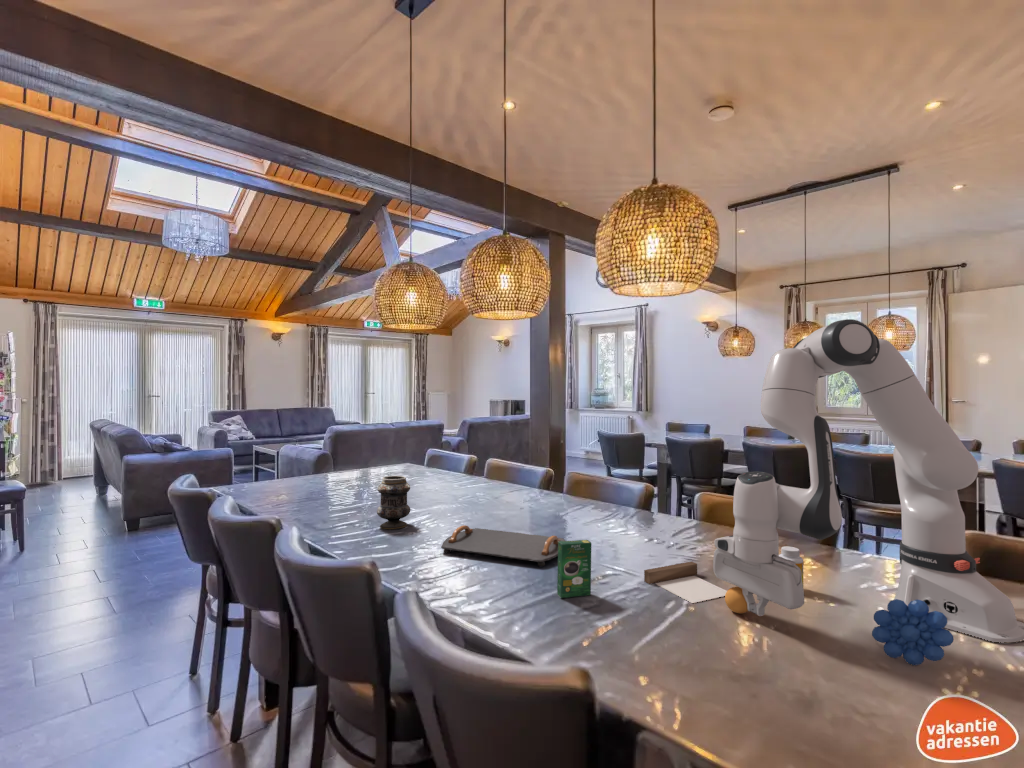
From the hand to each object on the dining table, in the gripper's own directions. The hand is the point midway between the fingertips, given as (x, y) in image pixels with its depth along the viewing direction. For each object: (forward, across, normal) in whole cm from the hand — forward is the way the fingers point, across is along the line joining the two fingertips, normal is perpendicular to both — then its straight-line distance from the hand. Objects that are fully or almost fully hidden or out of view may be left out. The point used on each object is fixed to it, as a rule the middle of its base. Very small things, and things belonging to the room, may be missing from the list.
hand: (755, 613), depth 108 cm
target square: (+2, +19, -1) cm, 19 cm away
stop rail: (+2, +27, -1) cm, 27 cm away
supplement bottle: (+2, +8, -22) cm, 24 cm away
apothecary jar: (+2, +110, +55) cm, 123 cm away
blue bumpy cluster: (+2, -23, -12) cm, 26 cm away
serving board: (+3, +67, +30) cm, 74 cm away
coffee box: (+2, +28, +28) cm, 40 cm away
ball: (-1, +5, 0) cm, 5 cm away
